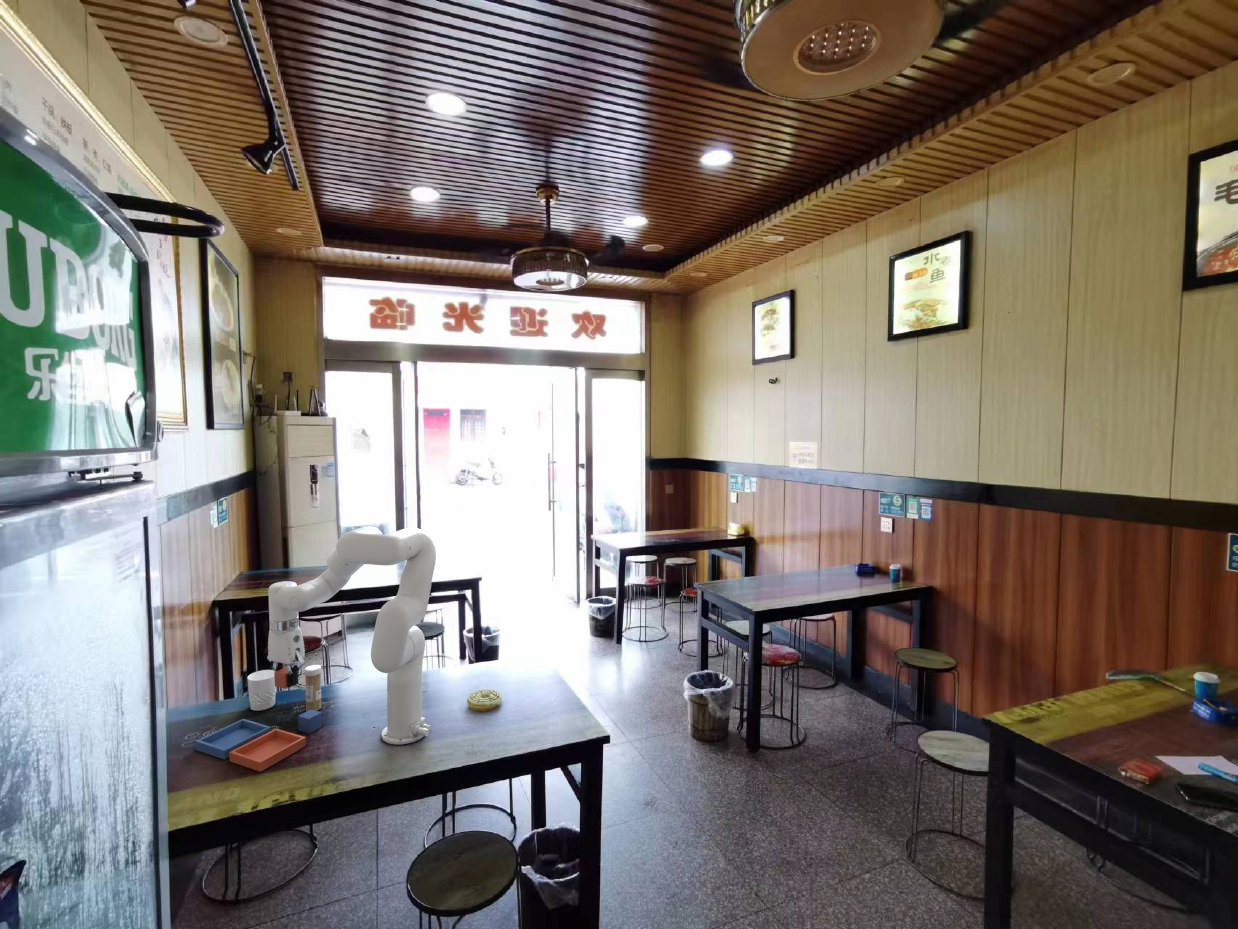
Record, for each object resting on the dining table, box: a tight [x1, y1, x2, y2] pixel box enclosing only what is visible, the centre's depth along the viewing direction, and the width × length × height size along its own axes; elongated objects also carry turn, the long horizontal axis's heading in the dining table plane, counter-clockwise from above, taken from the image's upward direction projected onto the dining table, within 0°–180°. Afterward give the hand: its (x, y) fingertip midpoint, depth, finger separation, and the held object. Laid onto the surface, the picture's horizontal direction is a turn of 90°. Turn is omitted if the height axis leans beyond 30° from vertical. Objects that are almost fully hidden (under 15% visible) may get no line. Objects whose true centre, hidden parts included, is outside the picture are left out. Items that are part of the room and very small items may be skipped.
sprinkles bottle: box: [304, 664, 323, 712], centre depth 186 cm, size 5×5×13 cm
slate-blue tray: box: [194, 718, 272, 760], centre depth 166 cm, size 12×14×2 cm
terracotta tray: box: [228, 728, 307, 773], centre depth 161 cm, size 12×14×2 cm
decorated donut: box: [466, 689, 503, 712], centre depth 191 cm, size 10×11×4 cm
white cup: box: [246, 669, 277, 712], centre depth 187 cm, size 8×8×10 cm
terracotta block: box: [274, 666, 289, 690], centre depth 177 cm, size 4×4×4 cm
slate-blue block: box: [297, 710, 323, 734], centre depth 174 cm, size 4×4×4 cm
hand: (286, 683), depth 177 cm, fingers closed on terracotta block, 4 cm apart
